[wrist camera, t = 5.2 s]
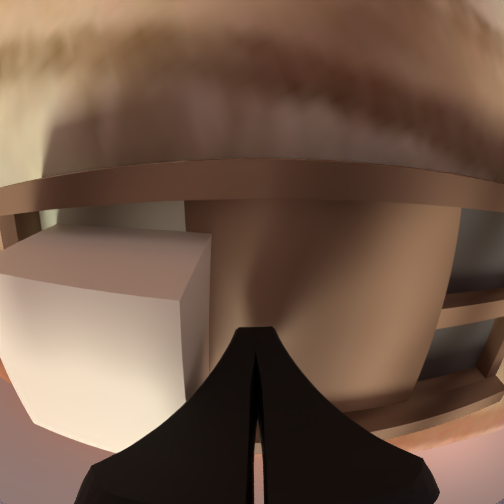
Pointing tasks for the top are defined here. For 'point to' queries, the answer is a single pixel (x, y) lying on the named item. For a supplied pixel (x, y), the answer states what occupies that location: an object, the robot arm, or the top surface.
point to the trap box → (324, 269)
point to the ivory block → (105, 328)
